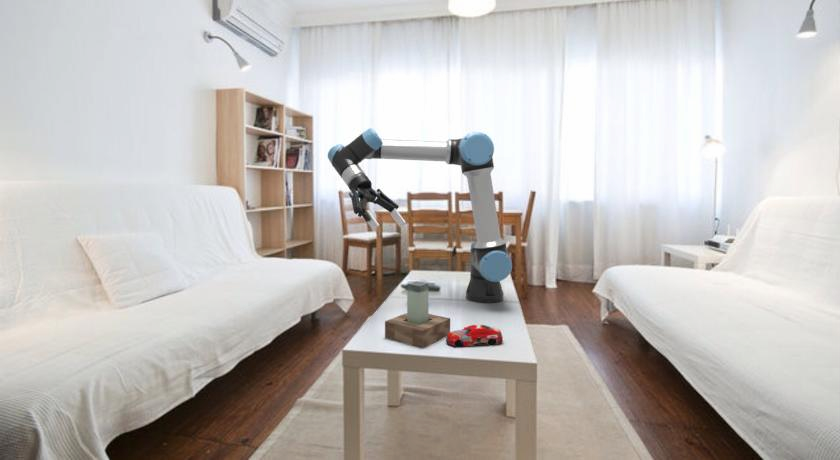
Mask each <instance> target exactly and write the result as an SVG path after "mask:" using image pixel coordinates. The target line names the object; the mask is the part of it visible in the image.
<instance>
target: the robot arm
mask: <svg viewBox="0 0 840 460" xmlns="http://www.w3.org/2000/svg"><path fill="white" fill-rule="evenodd" d="M494 152H495V145H494V142H493V140H492V138H491V137H490V136H489V135H487V134H486V133H483V132H480V131H474V132H469V133H467V134H465V135H464V136H463V137H462V138H457V139H456V138H455V139H452V138H451V139H450V138H449V139H447V140H446V141H434V140H433V141H432V140H414V139H413V140H411V139H409V140H408V139H389V138H388V139H387V138H386V139H385V138H381V137H380V136H379V134H378V133H377V132H376V131H375V129H373V128H372V127H369V128H368V129H366V130H365V131H363V132H362V133H361V134H359V136H357V137H356V138H355V139H353V140H352V141H351V142H349V144H347V145H343V144H341V143H340V144H338V143H337V144H336V145H334V146H332V147H330V149H329V150H328V151H327V159H328V160H329V163H330V164H331V166H332V167H333V168H334V170H335V171H336V172H337V174H338V175H339V176H340V178H341V179H342V180H343V183H345V185H346V187H348V190H350V191H349V194H348V195H349V197H350V200H351V205H352V208H353V213H354V214H355V215H357V216H358V217H359V218H361V217H362V218H363V219H364V221H365V222H366V223H367V224H368V225H369V226H370V228H371V229H372V231H373V232H375V231H376V230H377V229H378V227H379V226H380V224H379V223H378V221H377V220H376V218H375V217H374V216H373V214H372V212H370V210H369V209H367V204H368V203H373V204H374V205H379V206H380V207H381V208H383V209H385V210H386V211H387V212H388V213H390V214H389V215H390V216H391V217H392V219H393V220H394V221H395V223H396V224H397V225H398V227H399V228H400V229H401V228H403V227H404V225H405V224H406V220H405V219H404V218H403V216H402V214H400V212H399V211H398V209H399V207H400V206H399V204H397V203H396V202H395V201H393V200H392V199H391V198H390V197H388V196H387V195H386V194H385V193H384V192H383V191H382V190H381V189H380V188H377V189H376V190H375V189H373V187H372V181H371V180H370V179H369V177H368V176H367V175H366V173H365V171H364V170H363V169H362V168H361V167H360V165H359V164H360V163H361V162H363V161H364V160H372V159H373V160H374V159H375V160H377V159H378V160H379V159H381V160H382V159H383V160H401V161H402V160H406V161H407V160H408V161H422V162H423V161H427V162H430V161H431V162H445V163H446V164H447V165H454V166H460V167H461V174H463V175H464V176H465V178H467V179H466V180H467V185H468V190H469V196H470V197H469V198H470V202H471V211H472V215H473V222H474V228H475V229H474V230H475V235H476V239H477V240H476V241H473V242H472V243H471V244H470V250H469V251H470V279H469V282H468V285H467V288H466V290H465V299H467V300H469V301H471V302H477V303H485V304H486V303H490V304H491V303H499V302H501V301H504V291H503V287H502V284H501V282H502V281H503V280H505V279H507V278H508V276H509V275H510V274H511V272H512V269H513V263H512V259H511V257H510V255H508V249H507V248H508V247H507V242H506V241H505V240H504V239H503V238H502V236H501V232H500V224H499V219H498V218H499V217H498V213H497V205H496V201H495V199H496V198H495V193H494V187H493V181H492V171H493V170H494V169H495V165H494V159H493V156H494Z"/></svg>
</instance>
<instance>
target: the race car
mask: <svg viewBox="0 0 840 460" xmlns="http://www.w3.org/2000/svg"><path fill="white" fill-rule="evenodd" d="M503 338H504V337H503V334H502V331H501V330H500V329H499V328H497V327H493V326H490V325H486V324H485V325H484V324H471V325H469V326H468V325H467V326H466V327H463V329H458V330H454V331H450V333H449V334H448V335H447V336H446V337H445V341H446V343H448V345H450V346H453V347H456V348H462V347H471V346H487V345H488V346H490V345H492V346H493V345H494V346H495V345H498V344H501V343H503V341H504V340H503Z"/></svg>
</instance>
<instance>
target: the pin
mask: <svg viewBox="0 0 840 460" xmlns="http://www.w3.org/2000/svg"><path fill="white" fill-rule="evenodd" d="M406 290H407V291H406V297H407V298H406V299H407V300H406V303H407V305H406V307H407V308H406V310H407V312H406V313H407V322H411V323H416V324H420V325H421V324H423V323H425V322H428V314H429V295H428V294H429V283H428V282H422V281H414V282H413V281H412V282H410V283H407V284H406Z"/></svg>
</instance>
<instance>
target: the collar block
mask: <svg viewBox="0 0 840 460" xmlns="http://www.w3.org/2000/svg"><path fill="white" fill-rule="evenodd" d="M450 332H451V317H447V316H441V315H437V314H432V313H428V322H425V323H423V324H421V325H420V324H416V323H411V322H407V312H406V313H403V314H400V315H398V316H395V317H392V318H389V319H387V320H385V321H384V338H385V339H389V340H392V341H396V342H400V343H403V344H407V345H410V346H414V347H418V348H422V349H424V348H426V347H428V346H430V345H432V344H434V343H436V342H438V341H439V340H442V339H444V338H446V337H447V335H448V334H449V333H450Z"/></svg>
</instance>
